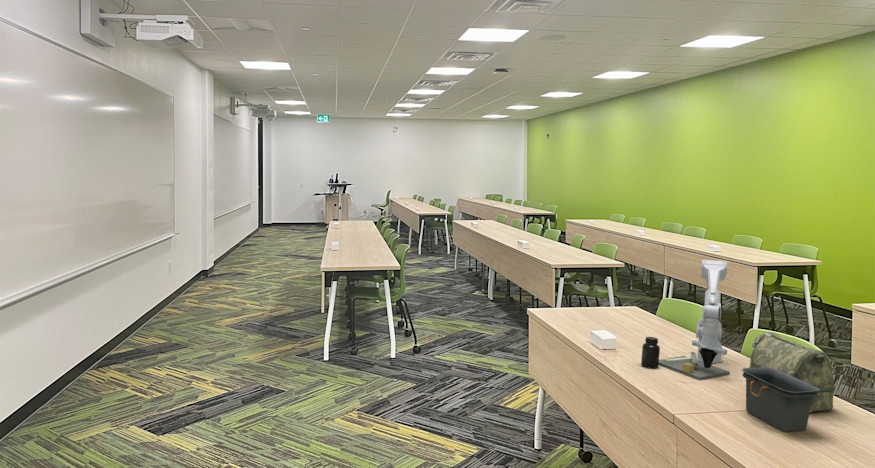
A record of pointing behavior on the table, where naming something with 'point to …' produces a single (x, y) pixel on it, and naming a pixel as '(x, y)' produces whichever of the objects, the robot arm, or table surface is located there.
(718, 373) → the base
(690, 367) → the yellow wooden cube
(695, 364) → the bar
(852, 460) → the table surface
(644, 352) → the supplement bottle
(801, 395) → the storage bin
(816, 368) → the lunch bag
